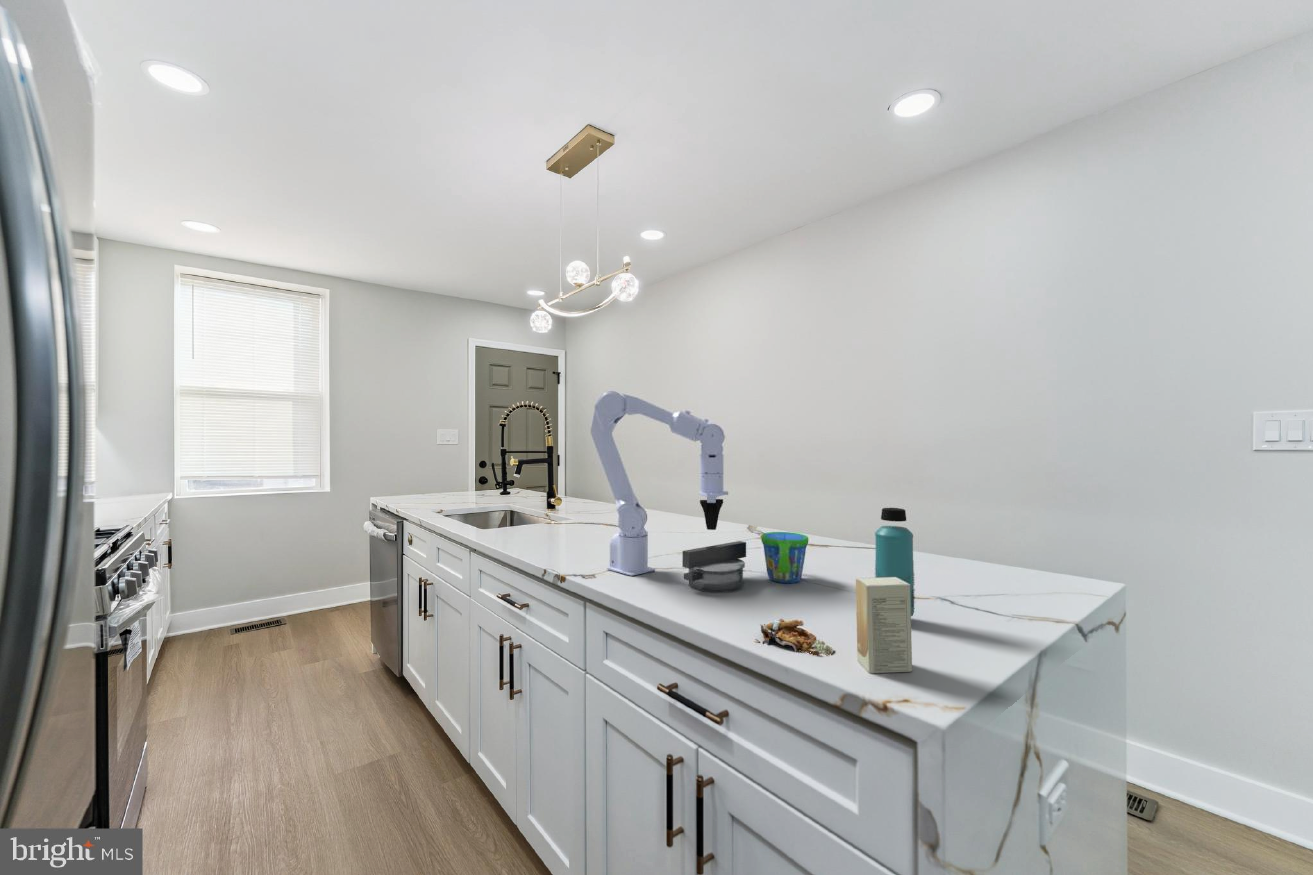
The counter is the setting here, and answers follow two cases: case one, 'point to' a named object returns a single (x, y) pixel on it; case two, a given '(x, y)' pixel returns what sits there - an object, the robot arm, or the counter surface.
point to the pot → (715, 580)
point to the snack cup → (784, 555)
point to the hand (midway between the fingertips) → (711, 529)
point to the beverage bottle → (895, 550)
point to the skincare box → (883, 624)
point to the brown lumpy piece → (794, 637)
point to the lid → (716, 557)
